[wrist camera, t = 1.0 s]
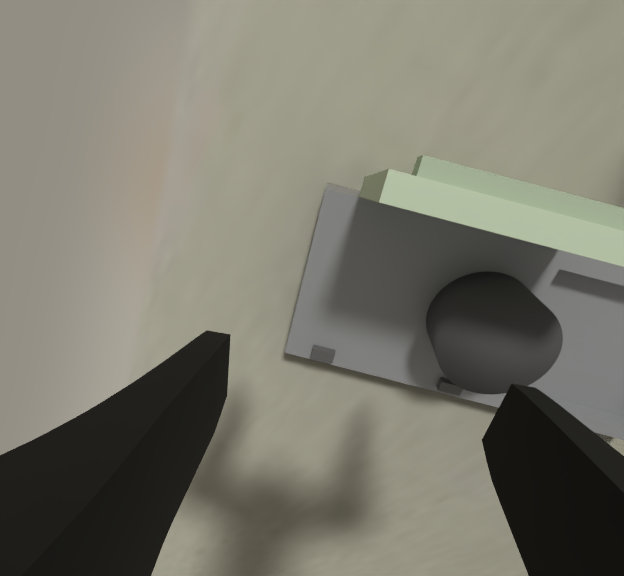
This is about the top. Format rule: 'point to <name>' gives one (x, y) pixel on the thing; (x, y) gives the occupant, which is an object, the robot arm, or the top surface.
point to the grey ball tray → (426, 285)
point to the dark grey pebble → (492, 333)
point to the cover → (503, 207)
